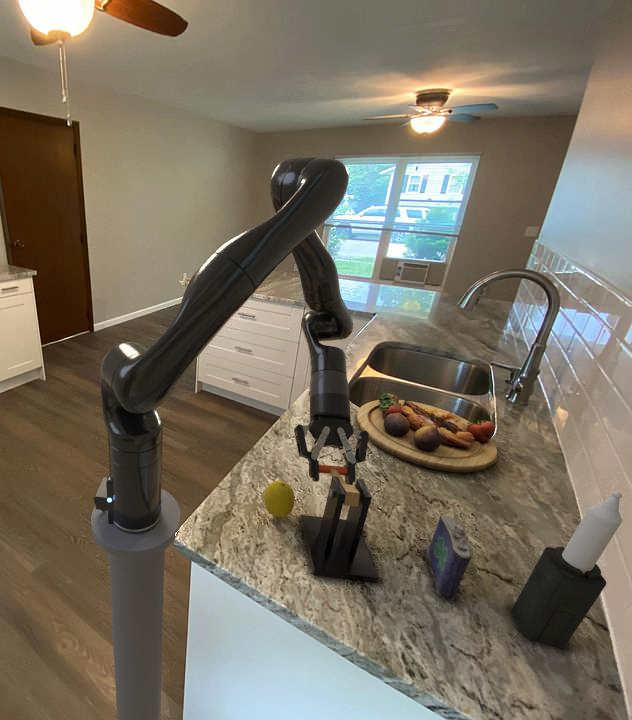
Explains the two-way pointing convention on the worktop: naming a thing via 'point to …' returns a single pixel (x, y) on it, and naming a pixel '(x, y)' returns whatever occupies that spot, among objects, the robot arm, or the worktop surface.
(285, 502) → the lemon
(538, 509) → the worktop surface
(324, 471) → the valve lever
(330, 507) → the black lever stand
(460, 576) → the flask
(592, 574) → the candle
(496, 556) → the worktop surface
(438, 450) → the wooden plate
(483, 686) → the worktop surface
